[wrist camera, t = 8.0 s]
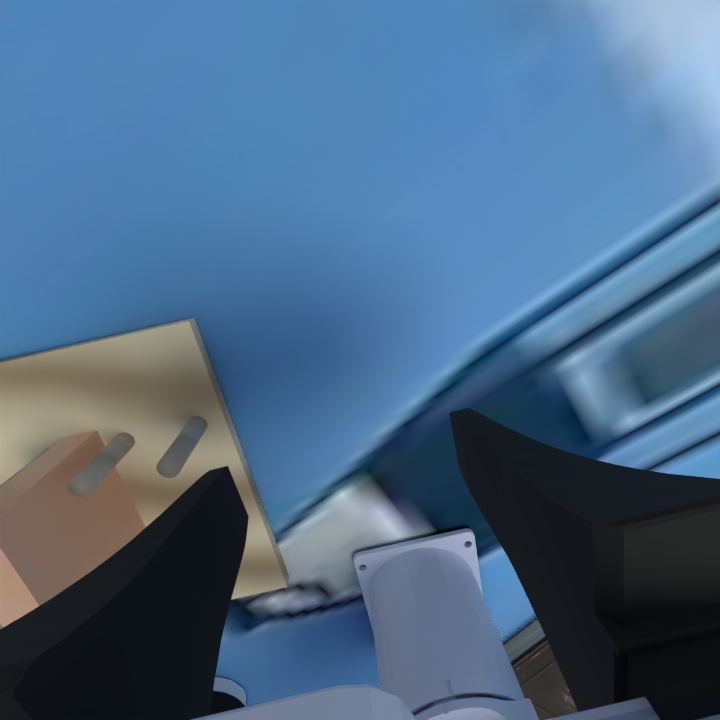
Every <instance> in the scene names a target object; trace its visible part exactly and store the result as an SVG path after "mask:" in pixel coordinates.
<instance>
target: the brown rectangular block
mask: <svg viewBox="0 0 720 720" xmlns="http://www.w3.org/2000/svg"><path fill="white" fill-rule="evenodd" d="M104 447H105V445H104V443H103V441H102V439H101V437H100V435H99V433H98V431H97V430H95V431H91V432H86V433H82V434H77V435H73V436H68V437H64V438H62V439H61V440H60V441H59V442H57V443H56V444H55V445H54V446H52V447H51V448H50V449H49V450H47V451H46V452H45V453H44V454H42V455H41V456H40V457H38V458H37V459H36V460H35V461H33V462H32V463H31V464H30V465H28V466H27V467H26V468H25V469H23V470H22V471H21V472H19V473H18V474H17V475H16V476H14V477H13V478H12V479H11V480H9V481H8V482H7V483H6V484H4V485H3V486H2V487H1V488H0V623H1V625H2V626H3V627H5V626H7V625H8V624H10V623H12V622H14V621H15V620H17V619H19V618H20V617H22V616H24V615H25V614H27V613H29V612H30V611H32V610H34V609H35V608H37V607H38V606H40V605H42V604H43V603H45V602H47V601H48V600H50V599H51V598H53V597H54V596H56V595H57V594H59V593H60V592H62V591H63V590H65V589H66V588H67V587H69V586H70V585H72V584H73V583H75V582H76V581H78V580H79V579H81V578H82V577H84V576H85V575H87V574H88V573H90V572H91V571H92V570H94V569H95V568H96V567H98V566H99V565H100V564H102V563H103V562H104V561H106V560H107V559H108V558H110V557H111V556H112V555H114V554H115V553H116V552H117V551H119V550H120V549H121V548H122V547H124V546H125V545H126V544H127V543H128V542H130V541H131V540H132V539H133V538H134V537H136V536H137V535H138V534H139V533H140V532H141V531H142V530H143V529H145V528H146V527H145V525H144V523H143V521H142V519H141V517H140V515H139V513H138V511H137V509H136V507H135V505H134V503H133V501H132V499H131V497H130V495H129V493H128V491H127V489H126V487H125V485H124V483H123V481H122V479H121V477H120V475H119V473H118V471H117V469H116V467H114V468H113V469H112V470H111V471H110V473H109V474H108V475H107V476H106V477H105V478H104V479H103V480H102V481H101V483H100V484H99V485H98V486H97V487H96V488H95V489H94V490H93V491H92V493H91V494H90V495H89V496H87V497H83V498H80V497H76V496H74V495H72V494H71V493H70V492H69V491H68V488H67V485H68V483H69V481H70V480H71V479H73V478H74V477H75V476H76V475H77V474H78V473H79V472H80V471H81V470H82V469H83V468H84V467H85V466H86V465H87V464H88V463H89V462H90V461H91V460H92V459H93V458H94V457H95V456H96V455H97V454H98V453H99V452H100V451H101V450H102V449H103V448H104Z"/></svg>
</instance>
